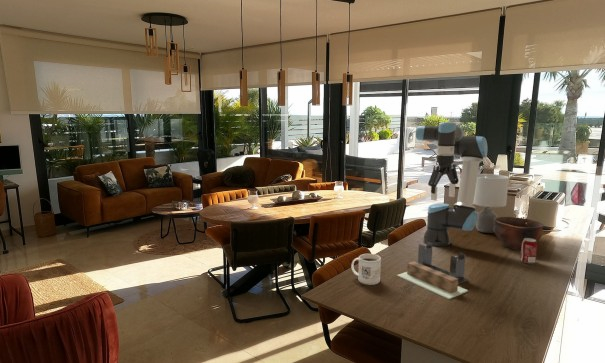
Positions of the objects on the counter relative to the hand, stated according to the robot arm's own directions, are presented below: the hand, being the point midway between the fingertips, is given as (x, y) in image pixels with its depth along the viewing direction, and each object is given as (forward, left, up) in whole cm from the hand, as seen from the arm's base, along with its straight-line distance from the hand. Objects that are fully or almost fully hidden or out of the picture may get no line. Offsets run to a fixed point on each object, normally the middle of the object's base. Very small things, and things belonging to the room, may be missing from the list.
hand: (442, 198), depth 185 cm
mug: (-8, -41, -35) cm, 54 cm away
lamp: (-20, +75, -35) cm, 85 cm away
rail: (+11, -20, -34) cm, 41 cm away
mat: (+11, -20, -35) cm, 42 cm away
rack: (+6, -7, -35) cm, 36 cm away
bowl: (+6, +62, -35) cm, 71 cm away
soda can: (+22, +43, -35) cm, 60 cm away
